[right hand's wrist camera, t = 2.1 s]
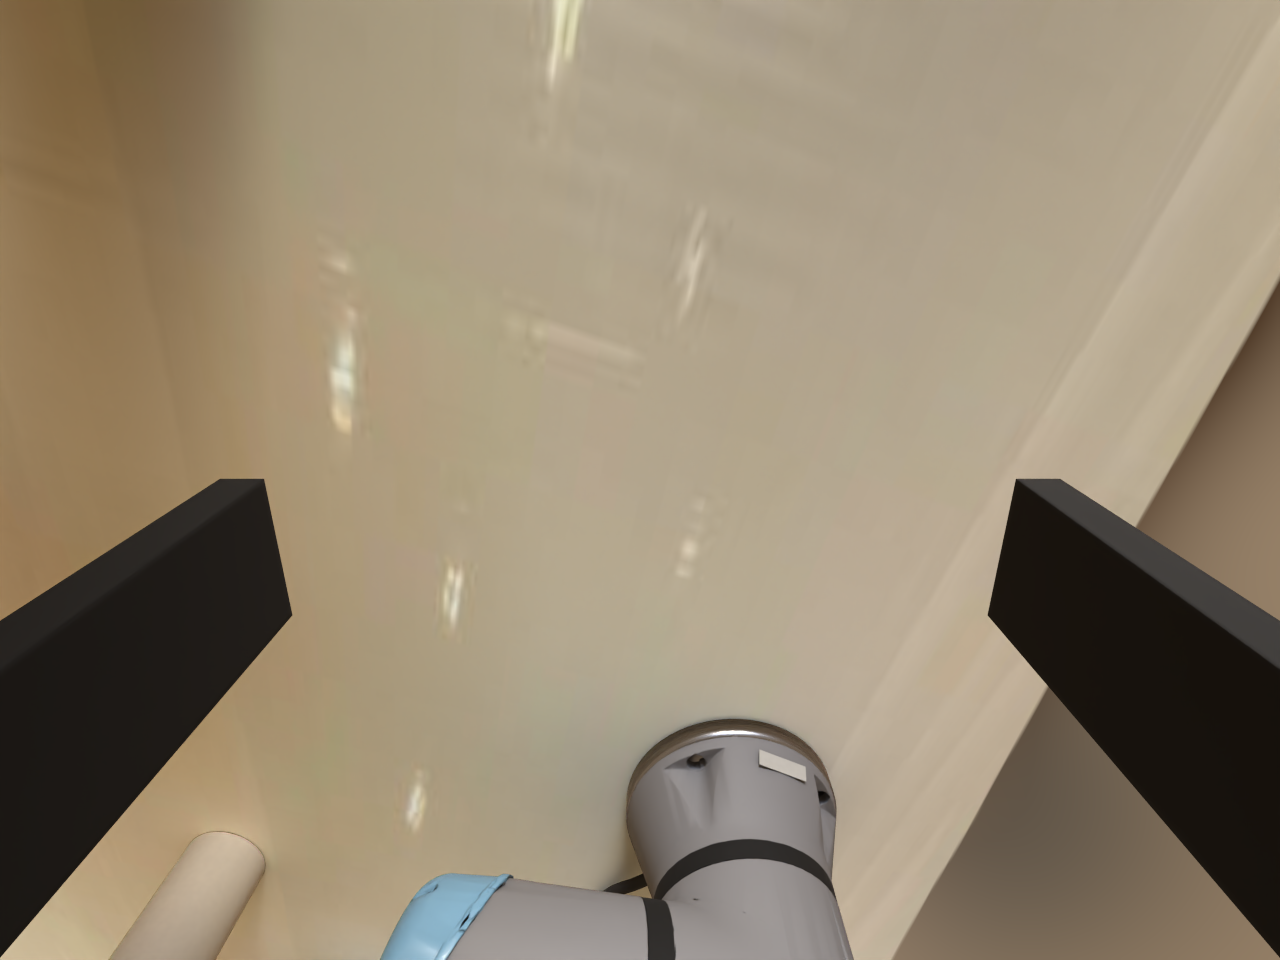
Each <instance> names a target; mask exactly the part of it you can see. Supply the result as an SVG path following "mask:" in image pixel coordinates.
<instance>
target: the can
mask: <svg viewBox="0 0 1280 960" xmlns="http://www.w3.org/2000/svg"><path fill="white" fill-rule="evenodd" d="M264 871H265V860H264V857H263V855H262V853H261V852H260V851H259V849H258V848H257V847H256V846H255V845H254V844H252V843H251V842H250V841H248V840H246V839H245V838H243V837H240V836H238V835H235V834H231V833H227V832H209V833H205V834H202V835H200V836H198V837H196V838H195V839H193V840H192V841H191V842H190V844H189V845H188V847H187V848H186V849H185V851H184V852H183V854H182V855H181V857H180V858H179V860H178V861H177V862H176V864H175V865H174V867H173V868H172V870H171V871H170V872H169V874H168V875H167V877H166V878H165V880H164V881H163V882H162V884H161V885H160V887H159V888H158V890H157V891H156V892H155V894H154V895H153V897H152V898H151V900H150V901H149V902H148V904H147V905H146V907H145V908H144V910H143V911H142V912H141V914H140V915H139V917H138V918H137V920H136V921H135V922H134V924H133V925H132V927H131V928H130V930H129V931H128V932H127V934H126V935H125V937H124V938H123V940H122V941H121V942H120V944H119V945H118V947H117V948H116V950H115V951H114V952H113V954H112V955H111V957H110V958H109V960H216V958H217V956H218V954H219V952H220V951H221V949H222V947H223V945H224V943H225V942H226V940H227V938H228V936H229V935H230V933H231V931H232V929H233V927H234V926H235V924H236V922H237V920H238V918H239V917H240V915H241V913H242V911H243V909H244V908H245V906H246V904H247V902H248V901H249V899H250V897H251V895H252V893H253V892H254V890H255V888H256V886H257V884H258V883H259V881H260V879H261V877H262V876H263V873H264Z"/></svg>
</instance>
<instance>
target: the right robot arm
mask: <svg viewBox="0 0 1280 960" xmlns="http://www.w3.org/2000/svg"><path fill="white" fill-rule="evenodd" d="M291 616H292V611H291V606H290V602H289V597H288V592H287V587H286V582H285V578H284V573H283V568H282V563H281V559H280V554H279V549H278V544H277V539H276V535H275V530H274V525H273V520H272V515H271V511H270V506H269V501H268V496H267V491H266V487H265V482H264V479H219V480H218V481H216V482H215V483H213V484H211V485H210V486H208V487H207V488H205V489H204V490H202V491H201V492H199V493H197V494H196V495H194V496H193V497H191V498H190V499H188V500H187V501H185V502H184V503H182V504H180V505H179V506H177V507H176V508H174V509H173V510H171V511H170V512H168V513H167V514H165V515H163V516H162V517H160V518H159V519H157V520H156V521H154V522H153V523H151V524H149V525H148V526H146V527H145V528H143V529H142V530H140V531H139V532H137V533H136V534H134V535H132V536H131V537H129V538H128V539H126V540H125V541H123V542H122V543H120V544H119V545H117V546H115V547H114V548H112V549H111V550H109V551H108V552H106V553H105V554H103V555H101V556H100V557H98V558H97V559H95V560H94V561H92V562H91V563H89V564H88V565H86V566H84V567H83V568H81V569H80V570H78V571H77V572H75V573H74V574H72V575H70V576H69V577H67V578H66V579H64V580H63V581H61V582H60V583H58V584H57V585H55V586H53V587H52V588H50V589H49V590H47V591H46V592H44V593H43V594H41V595H40V596H38V597H36V598H35V599H33V600H32V601H30V602H29V603H27V604H26V605H24V606H22V607H21V608H19V609H18V610H16V611H15V612H13V613H12V614H10V615H9V616H7V617H5V618H4V619H2V620H1V621H0V957H1V956H2V955H3V954H4V952H5V951H6V950H7V949H8V948H9V947H10V945H11V944H12V943H13V942H14V941H15V940H16V938H17V937H18V936H19V935H20V934H21V933H22V931H23V930H24V929H25V928H26V927H27V926H28V924H29V923H30V922H31V921H32V920H33V918H34V917H35V916H36V915H37V914H38V913H39V911H40V910H41V909H42V908H43V907H44V906H45V904H46V903H47V902H48V901H49V900H50V899H51V897H52V896H53V895H54V894H55V893H56V892H57V890H58V889H59V888H60V887H61V886H62V884H63V883H64V882H65V881H66V880H67V879H68V877H69V876H70V875H71V874H72V873H73V872H74V870H75V869H76V868H77V867H78V866H79V865H80V863H81V862H82V861H83V860H84V859H85V858H86V856H87V855H88V854H89V853H90V852H91V850H92V849H93V848H94V847H95V846H96V845H97V843H98V842H99V841H100V840H101V839H102V838H103V836H104V835H105V834H106V833H107V832H108V831H109V829H110V828H111V827H112V826H113V825H114V824H115V822H116V821H117V820H118V819H119V818H120V817H121V815H122V814H123V813H124V812H125V811H126V809H127V808H128V807H129V806H130V805H131V804H132V802H133V801H134V800H135V799H136V798H137V797H138V795H139V794H140V793H141V792H142V791H143V790H144V788H145V787H146V786H147V785H148V784H149V783H150V781H151V780H152V779H153V778H154V777H155V775H156V774H157V773H158V772H159V771H160V770H161V768H162V767H163V766H164V765H165V764H166V763H167V761H168V760H169V759H170V758H171V757H172V756H173V754H174V753H175V752H176V751H177V750H178V749H179V747H180V746H181V745H182V744H183V743H184V742H185V740H186V739H187V738H188V737H189V736H190V734H191V733H192V732H193V731H194V730H195V729H196V727H197V726H198V725H199V724H200V723H201V722H202V720H203V719H204V718H205V717H206V716H207V715H208V713H209V712H210V711H211V710H212V709H213V708H214V706H215V705H216V704H217V703H218V702H219V700H220V699H221V698H222V697H223V696H224V695H225V693H226V692H227V691H228V690H229V689H230V688H231V686H232V685H233V684H234V683H235V682H236V681H237V679H238V678H239V677H240V676H241V675H242V674H243V672H244V671H245V670H246V669H247V668H248V667H249V665H250V664H251V663H252V662H253V661H254V659H255V658H256V657H257V656H258V655H259V654H260V652H261V651H262V650H263V649H264V648H265V647H266V645H267V644H268V643H269V642H270V641H271V640H272V638H273V637H274V636H275V635H276V634H277V633H278V631H279V630H280V629H281V628H282V627H283V625H284V624H285V623H286V622H287V621H288V620H289V618H290V617H291ZM988 616H989V617H990V618H991V620H992V621H993V622H994V623H995V624H996V625H997V627H998V628H999V629H1000V630H1001V631H1002V633H1003V634H1004V635H1005V636H1006V637H1007V638H1008V640H1009V641H1010V642H1011V643H1012V644H1013V645H1014V647H1015V648H1016V649H1017V650H1018V651H1019V652H1020V654H1021V655H1022V656H1023V657H1024V658H1025V659H1026V661H1027V662H1028V663H1029V664H1030V665H1031V667H1032V668H1033V669H1034V670H1035V671H1036V672H1037V674H1038V675H1039V676H1040V677H1041V678H1042V679H1043V681H1044V682H1045V683H1046V684H1047V685H1048V686H1049V688H1050V689H1051V690H1052V691H1053V692H1054V693H1055V695H1056V696H1057V697H1058V698H1059V699H1060V700H1061V702H1062V703H1063V704H1064V705H1065V706H1066V707H1067V709H1068V710H1069V711H1070V712H1071V713H1072V715H1073V716H1074V717H1075V718H1076V719H1077V720H1078V722H1079V723H1080V724H1081V725H1082V726H1083V727H1084V729H1085V730H1086V731H1087V732H1088V733H1089V734H1090V736H1091V737H1092V738H1093V739H1094V740H1095V742H1096V743H1097V744H1098V745H1099V746H1100V747H1101V749H1102V750H1103V751H1104V752H1105V753H1106V754H1107V755H1108V757H1109V758H1110V759H1111V760H1112V761H1113V763H1114V764H1115V765H1116V766H1117V767H1118V768H1119V770H1120V771H1121V772H1122V773H1123V774H1124V776H1125V777H1126V778H1127V779H1128V780H1129V781H1130V783H1131V784H1132V785H1133V786H1134V787H1135V788H1136V790H1137V791H1138V792H1139V793H1140V794H1141V795H1142V797H1143V798H1144V799H1145V800H1146V801H1147V802H1148V804H1149V805H1150V806H1151V807H1152V808H1153V809H1154V811H1155V812H1156V813H1157V814H1158V815H1159V817H1160V818H1161V819H1162V820H1163V821H1164V822H1165V824H1166V825H1167V826H1168V827H1169V828H1170V829H1171V831H1172V832H1173V833H1174V834H1175V835H1176V836H1177V838H1178V839H1179V840H1180V841H1181V842H1182V843H1183V845H1184V846H1185V847H1186V848H1187V849H1188V851H1189V852H1190V853H1191V854H1192V855H1193V856H1194V858H1195V859H1196V860H1197V861H1198V862H1199V863H1200V865H1201V866H1202V867H1203V868H1204V869H1205V870H1206V872H1207V873H1208V874H1209V875H1210V876H1211V877H1212V879H1213V880H1214V881H1215V882H1216V883H1217V884H1218V886H1219V887H1220V888H1221V889H1222V890H1223V892H1224V893H1225V894H1226V895H1227V896H1228V897H1229V899H1230V900H1231V901H1232V902H1233V903H1234V904H1235V906H1236V907H1237V908H1238V909H1239V910H1240V911H1241V913H1242V914H1243V915H1244V916H1245V917H1246V918H1247V920H1248V921H1249V922H1250V923H1251V924H1252V925H1253V927H1254V928H1255V929H1256V930H1257V931H1258V933H1259V934H1260V935H1261V936H1262V937H1263V938H1264V940H1265V941H1266V942H1267V943H1268V944H1269V945H1270V947H1271V948H1272V949H1273V950H1274V951H1275V952H1276V954H1277V955H1278V956H1279V957H1280V621H1279V620H1278V619H1276V618H1274V617H1273V616H1271V615H1270V614H1268V613H1267V612H1265V611H1264V610H1262V609H1261V608H1259V607H1257V606H1256V605H1254V604H1253V603H1251V602H1250V601H1248V600H1247V599H1245V598H1244V597H1242V596H1240V595H1239V594H1237V593H1236V592H1234V591H1233V590H1231V589H1230V588H1228V587H1226V586H1225V585H1223V584H1222V583H1220V582H1219V581H1217V580H1216V579H1214V578H1212V577H1211V576H1210V575H1208V574H1206V573H1205V572H1203V571H1202V570H1200V569H1199V568H1197V567H1196V566H1194V565H1192V564H1191V563H1189V562H1188V561H1186V560H1185V559H1183V558H1182V557H1180V556H1179V555H1177V554H1175V553H1174V552H1172V551H1171V550H1169V549H1168V548H1166V547H1164V546H1163V545H1161V544H1160V543H1158V542H1157V541H1155V540H1154V539H1152V538H1151V537H1149V536H1148V535H1146V534H1144V533H1143V532H1141V531H1140V530H1138V529H1137V528H1135V527H1134V526H1132V525H1131V524H1129V523H1127V522H1126V521H1124V520H1123V519H1121V518H1120V517H1118V516H1117V515H1115V514H1113V513H1112V512H1110V511H1109V510H1107V509H1106V508H1104V507H1103V506H1101V505H1100V504H1098V503H1096V502H1095V501H1093V500H1092V499H1090V498H1089V497H1087V496H1086V495H1084V494H1083V493H1081V492H1079V491H1078V490H1076V489H1075V488H1073V487H1072V486H1070V485H1069V484H1067V483H1065V482H1064V481H1062V480H1061V479H1016V482H1015V487H1014V491H1013V496H1012V501H1011V506H1010V511H1009V515H1008V520H1007V525H1006V530H1005V535H1004V539H1003V544H1002V549H1001V554H1000V559H999V563H998V568H997V573H996V578H995V582H994V587H993V592H992V597H991V602H990V606H989V611H988ZM835 826H836V801H835V796H834V792H833V789H832V786H831V783H830V780H829V777H828V774H827V771H826V769H825V767H824V765H823V763H822V761H821V760H820V758H819V757H818V755H817V754H816V753H815V752H814V751H813V750H812V748H811V747H810V746H808V745H807V744H806V743H805V742H804V741H802V740H801V739H800V738H798V737H797V736H795V735H793V734H792V733H790V732H788V731H786V730H784V729H781V728H779V727H776V726H773V725H771V724H767V723H763V722H759V721H753V720H743V719H723V720H714V721H708V722H703V723H699V724H696V725H692V726H689V727H687V728H684V729H682V730H679V731H677V732H675V733H673V734H671V735H669V736H668V737H666V738H665V739H663V740H662V741H660V742H659V743H658V744H656V745H655V746H654V747H653V748H652V749H651V750H650V751H648V752H647V754H646V755H645V756H644V757H643V758H642V759H641V761H640V762H639V764H638V765H637V767H636V769H635V770H634V772H633V774H632V777H631V779H630V783H629V787H628V793H627V828H628V832H629V836H630V839H631V842H632V844H633V847H634V850H635V852H636V855H637V858H638V861H639V864H640V866H641V869H642V872H643V874H641V875H639V876H636V877H634V878H631V879H629V880H625V881H622V882H619V883H617V884H614V885H612V886H610V887H609V888H607V889H606V890H604V891H596V890H589V889H582V888H574V887H567V886H560V885H553V884H545V883H538V882H532V881H526V880H519V879H513V876H512V875H509V874H502V875H500V876H498V877H496V876H481V875H467V874H455V873H450V874H444V875H441V876H438V877H436V878H434V879H432V880H430V881H429V882H428V883H426V884H425V885H424V886H423V887H422V888H421V889H420V890H419V891H418V892H417V893H416V895H415V896H414V897H413V899H412V900H411V902H410V903H409V905H408V906H407V908H406V909H405V911H404V913H403V914H402V916H401V918H400V920H399V921H398V923H397V925H396V927H395V929H394V931H393V933H392V935H391V937H390V939H389V941H388V943H387V945H386V947H385V950H384V952H383V954H382V956H381V958H380V960H854V959H853V955H852V952H851V948H850V945H849V941H848V938H847V934H846V931H845V927H844V924H843V920H842V917H841V913H840V910H839V907H838V903H837V900H836V896H835V892H834V889H833V885H832V881H831V880H832V866H833V853H834V839H835ZM645 886H648V888H649V891H650V894H651V896H652V899H651V898H643V897H640V896H632V895H625V894H626V893H630V892H633V891H636V890H638V889H641V888H643V887H645Z"/></svg>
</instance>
